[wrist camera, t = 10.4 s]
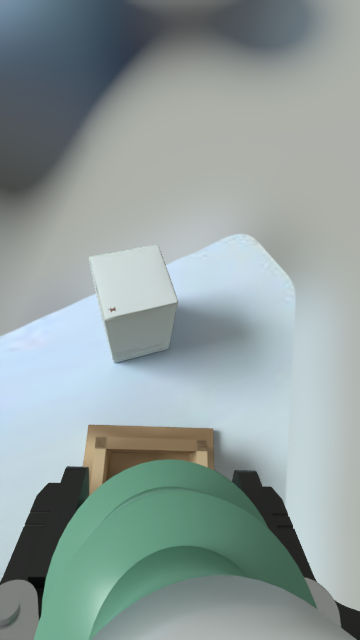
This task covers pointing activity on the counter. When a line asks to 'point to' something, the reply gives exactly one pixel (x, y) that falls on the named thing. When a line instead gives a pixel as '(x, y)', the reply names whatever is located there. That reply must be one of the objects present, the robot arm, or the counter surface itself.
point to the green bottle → (175, 565)
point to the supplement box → (134, 301)
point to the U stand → (142, 448)
